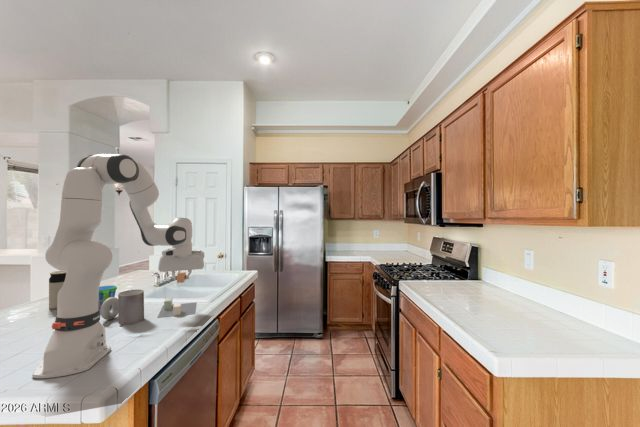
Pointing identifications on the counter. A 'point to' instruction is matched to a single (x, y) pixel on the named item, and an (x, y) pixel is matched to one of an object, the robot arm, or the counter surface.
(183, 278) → the terracotta brick
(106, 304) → the donut
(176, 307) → the cream brick
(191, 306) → the baseplate
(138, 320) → the pillar candle
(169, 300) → the sage brick
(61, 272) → the travel mug
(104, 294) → the snack cup
